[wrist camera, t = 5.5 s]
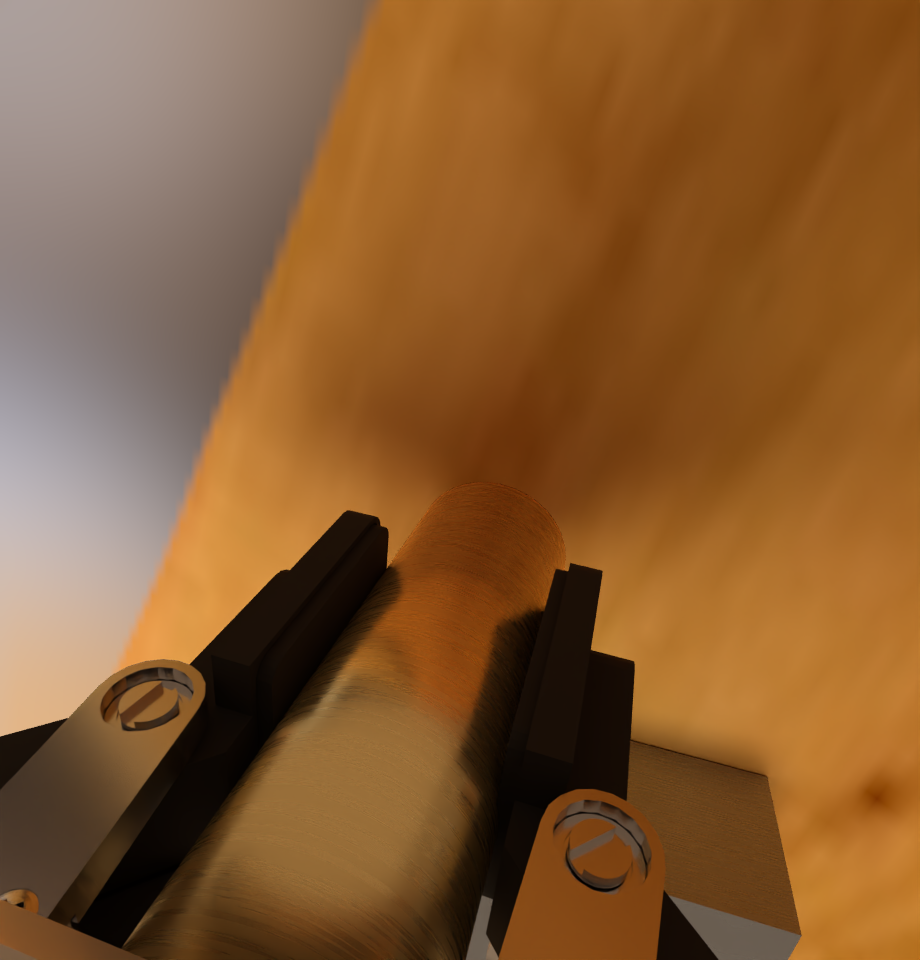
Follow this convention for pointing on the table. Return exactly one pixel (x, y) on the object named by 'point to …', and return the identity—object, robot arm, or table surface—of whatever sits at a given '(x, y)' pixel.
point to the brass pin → (380, 762)
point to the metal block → (708, 855)
